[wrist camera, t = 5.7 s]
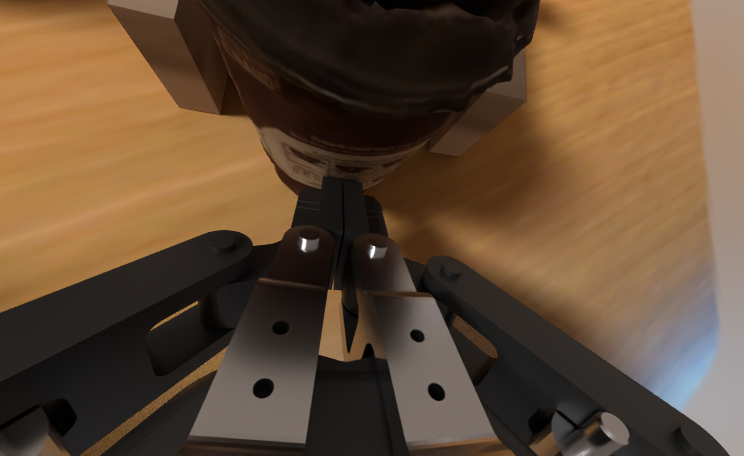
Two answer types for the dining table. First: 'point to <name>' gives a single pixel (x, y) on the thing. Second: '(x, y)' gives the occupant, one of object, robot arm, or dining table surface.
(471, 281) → the robot arm
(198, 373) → the dining table surface
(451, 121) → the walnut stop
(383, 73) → the coffee cup
